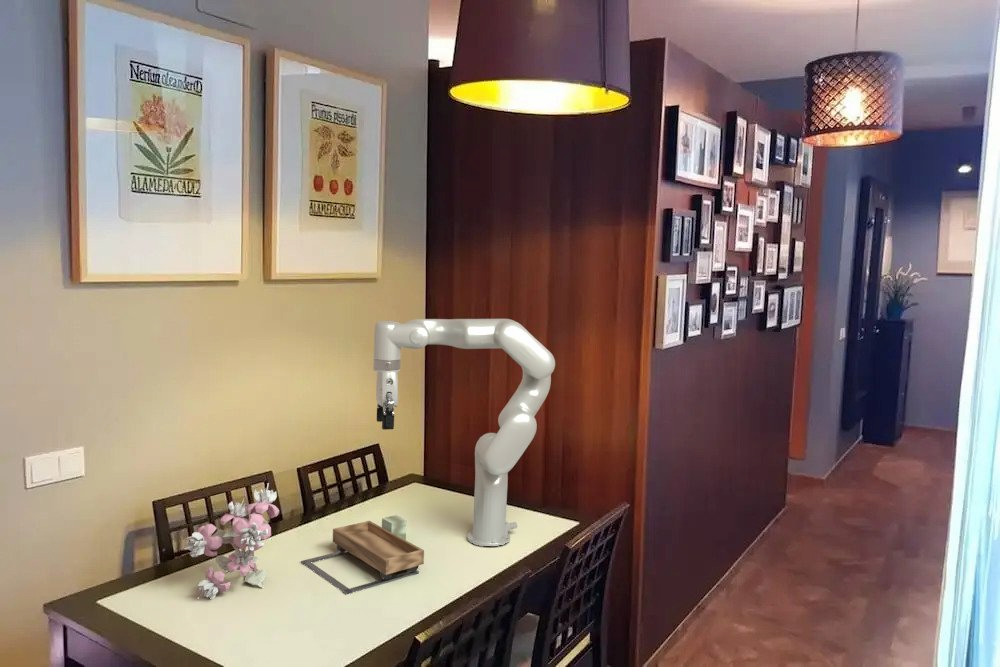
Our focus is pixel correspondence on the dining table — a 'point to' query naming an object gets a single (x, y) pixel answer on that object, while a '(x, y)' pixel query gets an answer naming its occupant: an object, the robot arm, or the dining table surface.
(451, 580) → the dining table surface
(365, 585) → the grey flat square frame
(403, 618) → the dining table surface
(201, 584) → the flower
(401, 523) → the sage block
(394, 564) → the cart
